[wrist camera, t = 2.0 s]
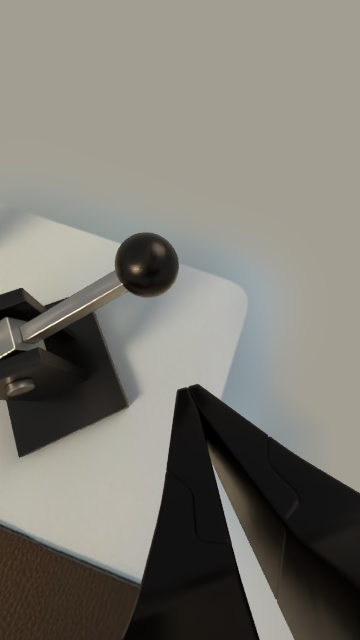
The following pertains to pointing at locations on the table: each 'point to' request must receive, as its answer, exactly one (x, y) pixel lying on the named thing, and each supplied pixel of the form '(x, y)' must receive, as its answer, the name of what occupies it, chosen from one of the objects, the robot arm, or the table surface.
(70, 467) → the table surface
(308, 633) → the robot arm
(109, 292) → the ball knob lever
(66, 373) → the lever base
